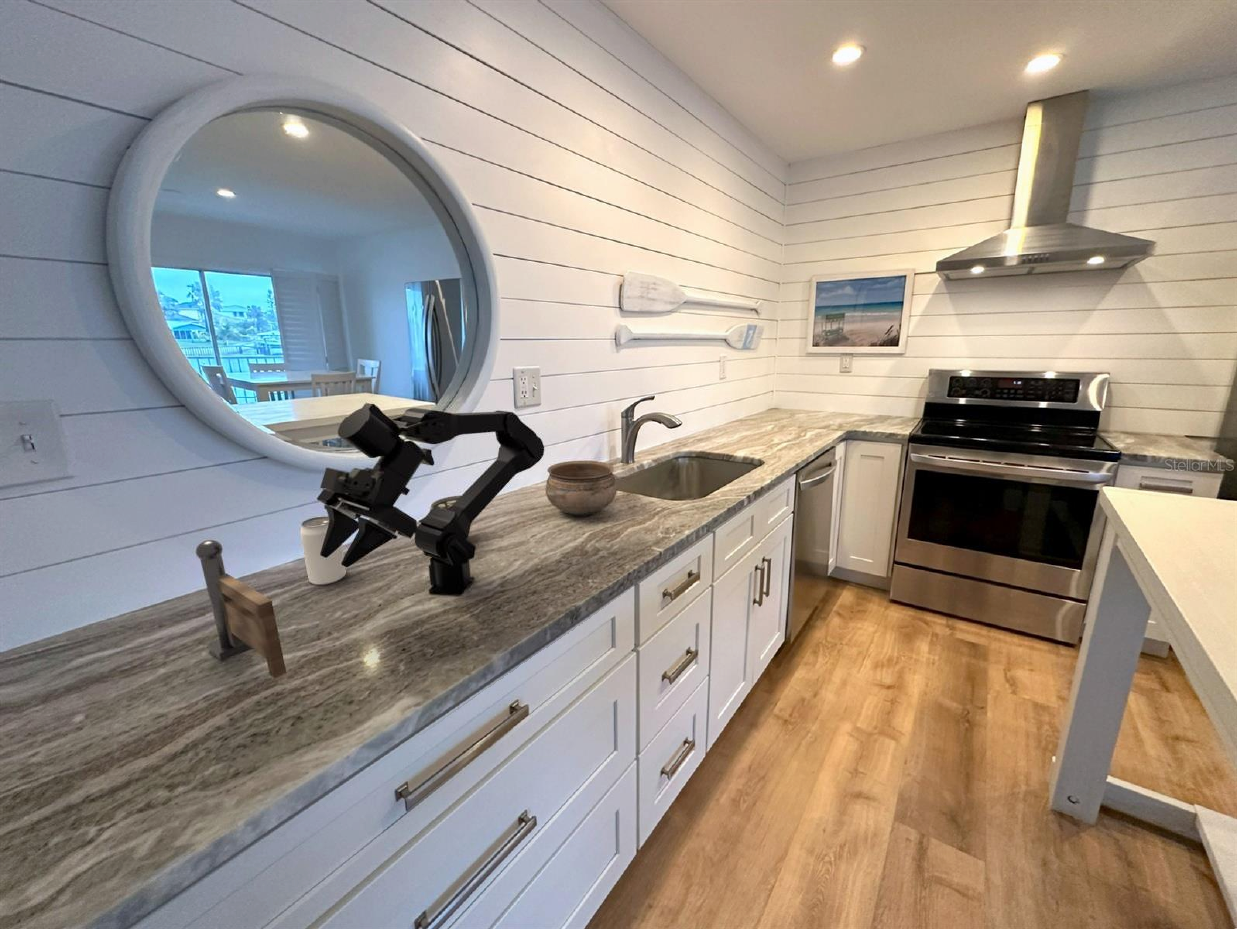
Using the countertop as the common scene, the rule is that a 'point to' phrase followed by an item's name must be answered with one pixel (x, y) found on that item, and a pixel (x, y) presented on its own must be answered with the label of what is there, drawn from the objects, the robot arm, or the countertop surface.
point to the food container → (445, 502)
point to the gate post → (216, 598)
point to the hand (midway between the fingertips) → (333, 561)
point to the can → (317, 565)
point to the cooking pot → (581, 486)
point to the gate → (251, 621)
